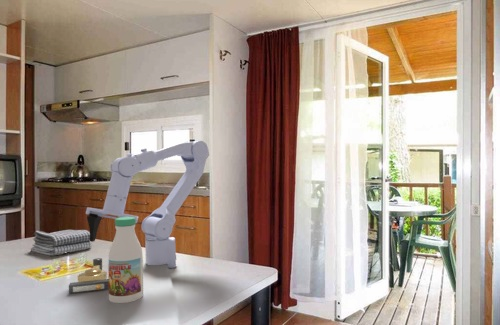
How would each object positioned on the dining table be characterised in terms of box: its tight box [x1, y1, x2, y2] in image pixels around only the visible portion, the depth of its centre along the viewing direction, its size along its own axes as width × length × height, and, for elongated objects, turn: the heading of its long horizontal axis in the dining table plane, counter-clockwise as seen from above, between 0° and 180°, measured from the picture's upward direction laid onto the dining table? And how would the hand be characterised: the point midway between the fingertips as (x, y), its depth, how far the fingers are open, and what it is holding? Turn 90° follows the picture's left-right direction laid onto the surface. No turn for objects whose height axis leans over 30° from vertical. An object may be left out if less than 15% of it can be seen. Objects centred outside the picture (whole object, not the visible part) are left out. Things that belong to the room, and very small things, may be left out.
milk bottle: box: [107, 217, 144, 304], centre depth 82 cm, size 8×8×20 cm
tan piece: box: [77, 257, 108, 282], centre depth 94 cm, size 15×7×4 cm, turn 17°
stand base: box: [68, 278, 109, 295], centre depth 92 cm, size 16×16×3 cm
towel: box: [30, 229, 93, 257], centre depth 133 cm, size 15×18×8 cm
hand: (105, 243), depth 99 cm, fingers open, 7 cm apart
